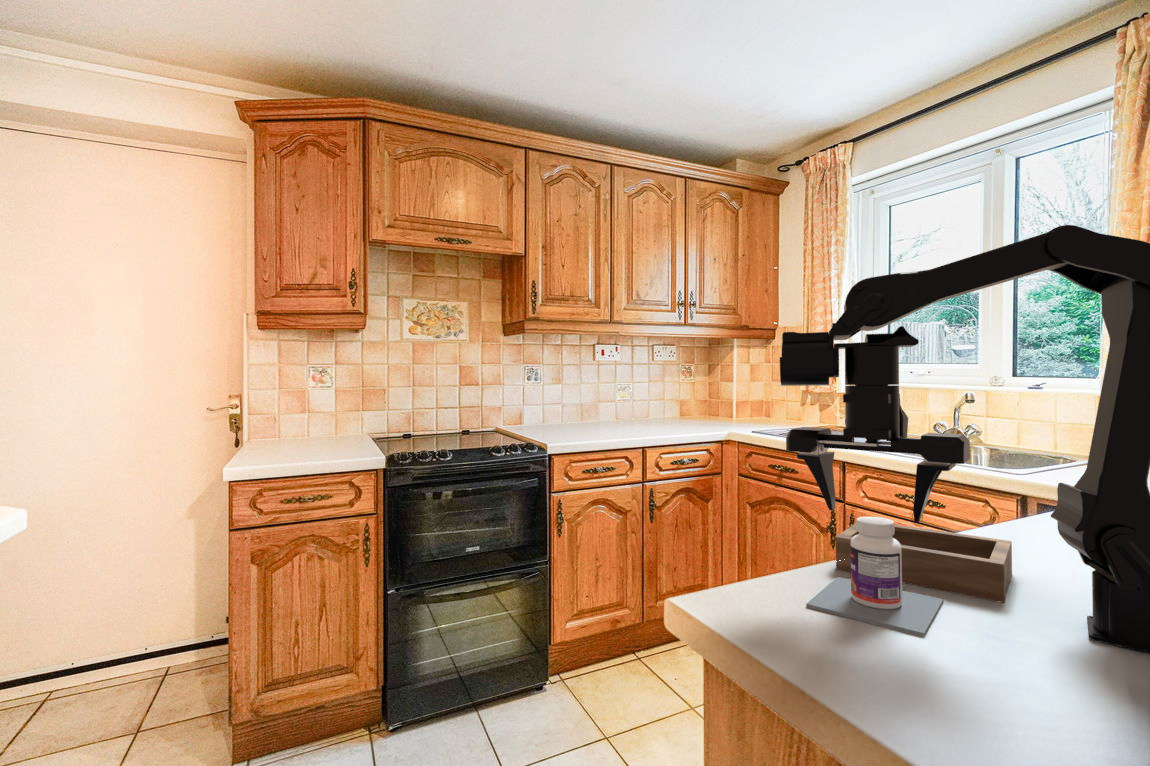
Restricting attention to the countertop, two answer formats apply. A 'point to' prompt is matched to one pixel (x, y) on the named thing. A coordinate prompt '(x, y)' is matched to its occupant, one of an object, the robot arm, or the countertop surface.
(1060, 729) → the countertop surface
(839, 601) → the mat
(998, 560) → the slot box
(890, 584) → the pill bottle
